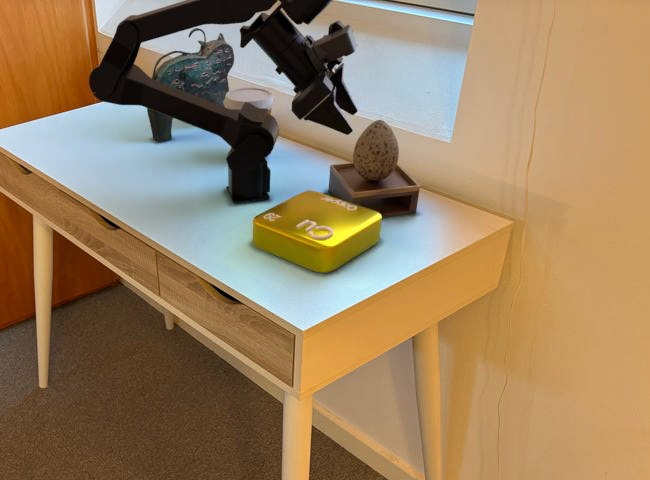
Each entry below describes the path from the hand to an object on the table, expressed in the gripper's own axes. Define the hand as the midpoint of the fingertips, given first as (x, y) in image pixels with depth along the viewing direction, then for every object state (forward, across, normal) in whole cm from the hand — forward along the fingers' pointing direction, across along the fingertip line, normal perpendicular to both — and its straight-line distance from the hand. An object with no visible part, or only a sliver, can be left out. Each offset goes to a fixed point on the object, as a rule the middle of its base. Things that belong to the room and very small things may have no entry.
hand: (353, 122), depth 114 cm
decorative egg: (+10, 0, +4) cm, 10 cm away
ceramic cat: (-15, +29, +34) cm, 47 cm away
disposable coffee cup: (-5, +17, +24) cm, 30 cm away
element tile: (+7, -15, +12) cm, 21 cm away
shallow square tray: (+12, 0, +7) cm, 14 cm away
